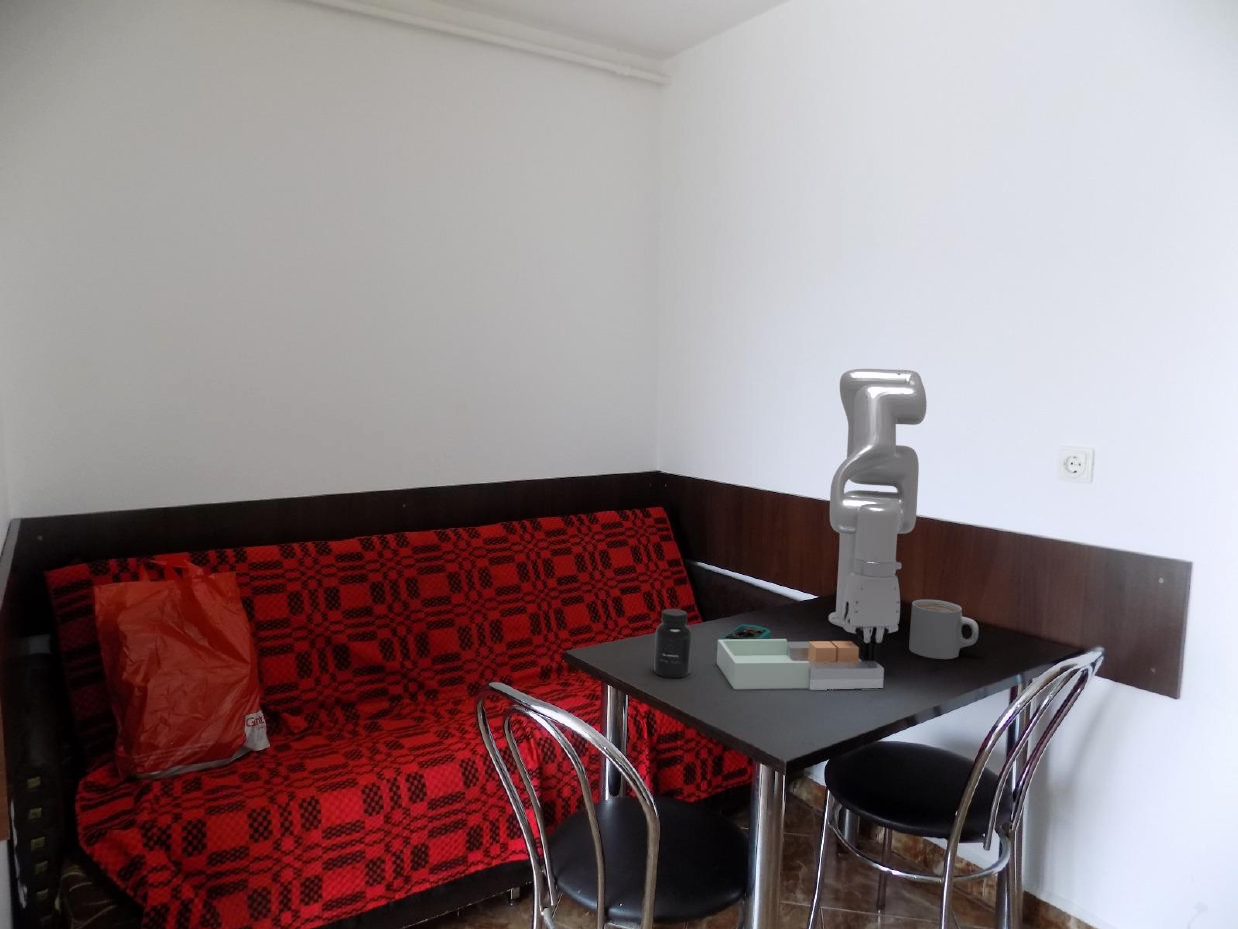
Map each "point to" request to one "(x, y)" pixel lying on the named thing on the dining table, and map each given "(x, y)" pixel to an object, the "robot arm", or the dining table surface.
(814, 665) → the slotted block
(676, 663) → the supplement bottle
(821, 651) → the chip
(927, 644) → the coffee mug
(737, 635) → the digital multimeter
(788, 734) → the dining table surface
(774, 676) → the tray
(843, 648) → the chip
